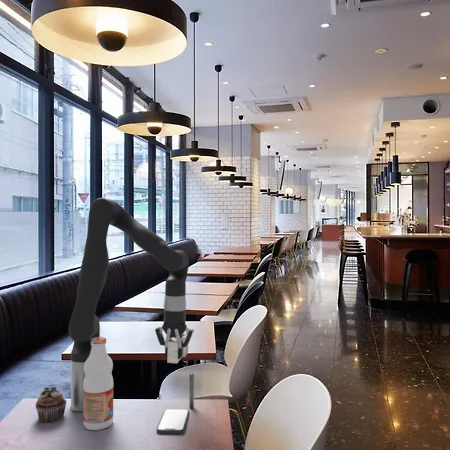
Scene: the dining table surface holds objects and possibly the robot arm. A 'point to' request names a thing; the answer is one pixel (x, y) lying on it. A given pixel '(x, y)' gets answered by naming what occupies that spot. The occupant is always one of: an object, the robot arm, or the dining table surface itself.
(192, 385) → the post
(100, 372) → the fruit juice
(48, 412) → the cupcake
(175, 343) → the open-ended tube with peg
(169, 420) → the smartphone
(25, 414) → the dining table surface
